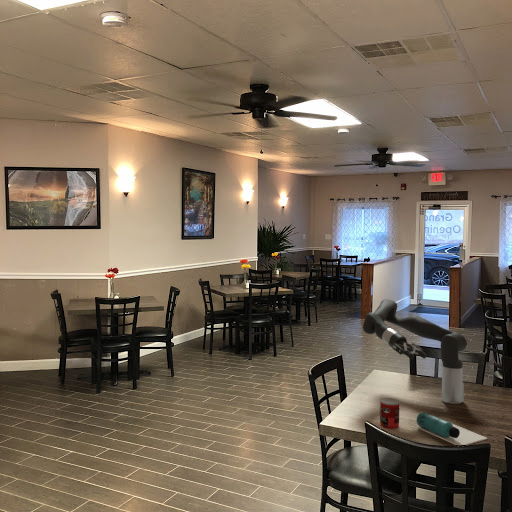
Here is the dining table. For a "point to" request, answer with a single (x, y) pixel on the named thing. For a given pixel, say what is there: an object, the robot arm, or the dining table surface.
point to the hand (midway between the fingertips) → (419, 357)
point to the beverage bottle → (437, 425)
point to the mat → (463, 438)
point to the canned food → (389, 413)
